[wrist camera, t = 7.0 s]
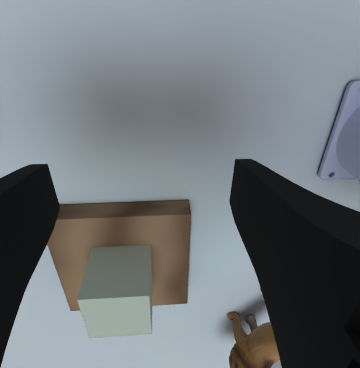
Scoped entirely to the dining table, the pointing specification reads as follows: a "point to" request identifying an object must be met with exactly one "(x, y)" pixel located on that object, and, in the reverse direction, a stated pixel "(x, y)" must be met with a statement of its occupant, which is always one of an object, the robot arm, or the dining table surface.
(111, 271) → the block
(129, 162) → the dining table surface
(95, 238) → the base
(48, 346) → the dining table surface
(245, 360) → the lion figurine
